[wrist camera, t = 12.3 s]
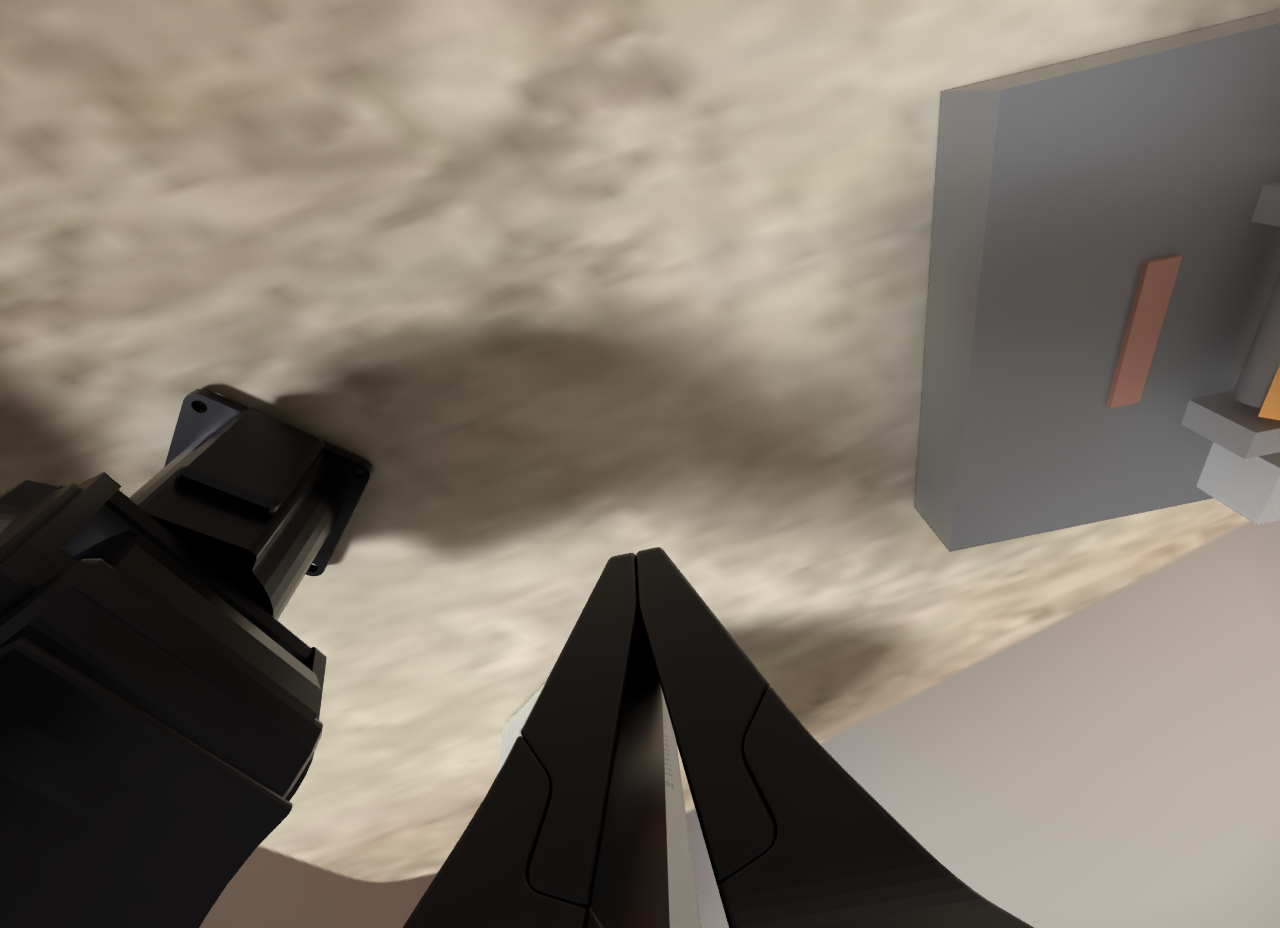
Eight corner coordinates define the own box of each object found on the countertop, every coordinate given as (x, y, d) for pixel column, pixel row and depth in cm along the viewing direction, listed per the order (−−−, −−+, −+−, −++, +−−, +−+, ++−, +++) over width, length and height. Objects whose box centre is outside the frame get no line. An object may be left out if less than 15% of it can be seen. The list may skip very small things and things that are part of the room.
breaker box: (914, 507, 26) (983, 594, 21) (941, 91, 17) (1065, 88, 13) (1235, 441, 25) (1377, 516, 21) (1426, -26, 17) (1740, -73, 12)
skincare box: (577, 637, 29) (567, 1051, 16) (674, 675, 31) (732, 1068, 18) (499, 727, 32) (442, 1128, 20) (592, 756, 34) (593, 1134, 22)
